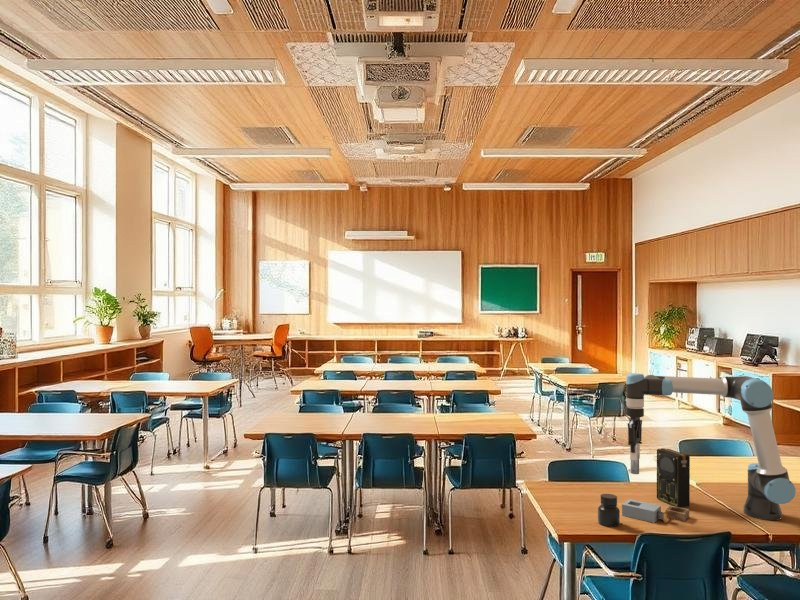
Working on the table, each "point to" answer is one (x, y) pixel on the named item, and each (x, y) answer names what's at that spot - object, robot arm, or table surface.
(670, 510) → the rack
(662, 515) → the drift key
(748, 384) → the robot arm
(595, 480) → the table surface
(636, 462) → the drill peg
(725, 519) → the table surface
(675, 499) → the black hard drive
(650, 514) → the socket block
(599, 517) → the ink bottle
